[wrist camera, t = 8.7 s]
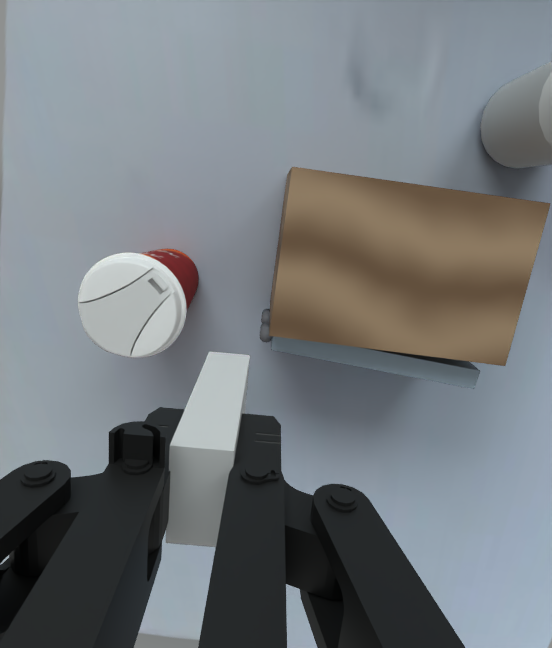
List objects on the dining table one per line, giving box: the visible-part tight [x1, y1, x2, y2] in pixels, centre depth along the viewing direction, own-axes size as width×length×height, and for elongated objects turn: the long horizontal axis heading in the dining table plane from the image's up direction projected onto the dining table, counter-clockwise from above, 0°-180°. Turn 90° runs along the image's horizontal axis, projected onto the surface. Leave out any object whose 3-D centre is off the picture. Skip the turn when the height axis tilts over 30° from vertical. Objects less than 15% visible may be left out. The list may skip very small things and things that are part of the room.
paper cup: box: [78, 249, 199, 358], centre depth 39 cm, size 8×8×14 cm
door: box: [260, 309, 480, 389], centre depth 42 cm, size 3×18×9 cm, turn 78°
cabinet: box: [269, 167, 550, 366], centre depth 39 cm, size 12×18×12 cm, turn 82°
